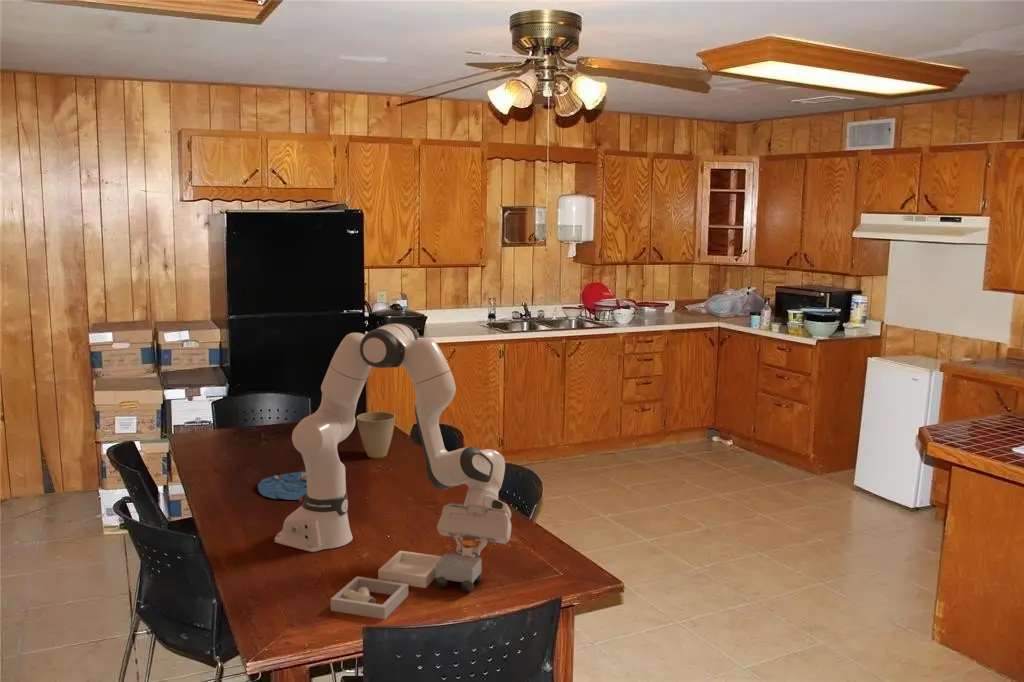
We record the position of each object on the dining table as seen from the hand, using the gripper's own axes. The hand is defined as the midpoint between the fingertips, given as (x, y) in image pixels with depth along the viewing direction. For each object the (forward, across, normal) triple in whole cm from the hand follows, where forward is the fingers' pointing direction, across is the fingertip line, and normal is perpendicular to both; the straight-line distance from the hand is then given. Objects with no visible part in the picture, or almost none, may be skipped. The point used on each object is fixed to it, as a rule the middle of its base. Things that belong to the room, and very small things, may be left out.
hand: (467, 553), depth 224 cm
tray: (+8, -14, +1) cm, 16 cm away
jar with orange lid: (+3, 0, +4) cm, 5 cm away
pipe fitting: (+22, -18, -13) cm, 31 cm away
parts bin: (+21, -17, -12) cm, 29 cm away
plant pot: (-60, -72, +69) cm, 116 cm away
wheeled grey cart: (+7, 0, +1) cm, 7 cm away
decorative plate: (-30, -80, +39) cm, 94 cm away
